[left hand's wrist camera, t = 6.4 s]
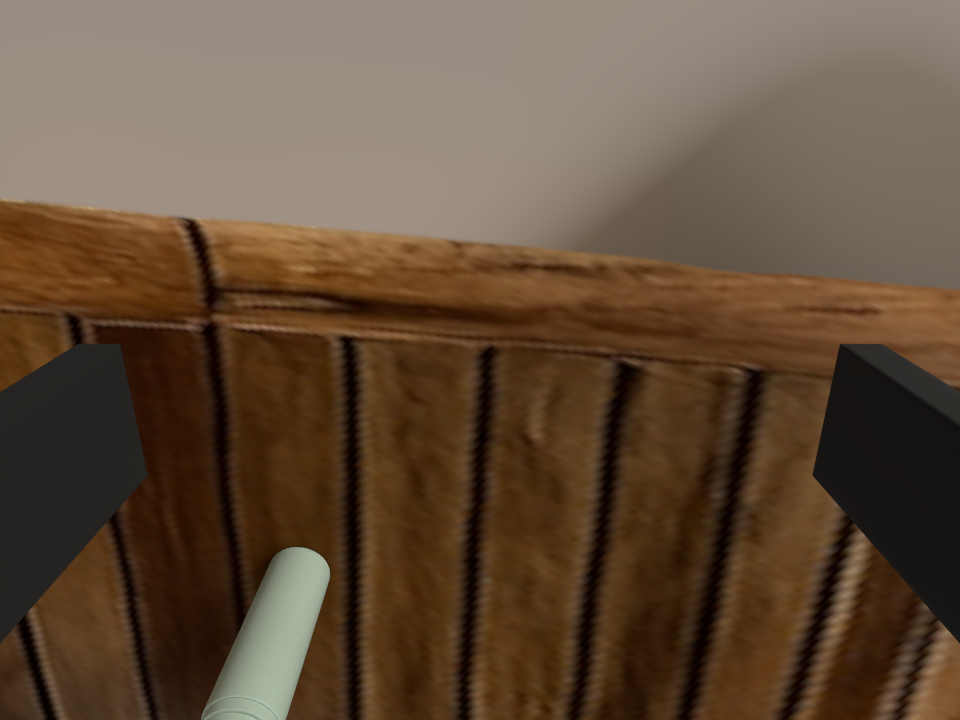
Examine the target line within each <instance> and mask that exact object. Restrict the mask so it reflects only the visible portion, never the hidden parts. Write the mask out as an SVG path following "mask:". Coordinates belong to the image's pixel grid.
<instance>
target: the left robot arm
mask: <svg viewBox="0 0 960 720" xmlns="http://www.w3.org/2000/svg"><path fill="white" fill-rule="evenodd" d="M146 476H147V471H146V466H145V461H144V456H143V451H142V447H141V442H140V437H139V432H138V428H137V423H136V418H135V413H134V409H133V404H132V399H131V394H130V390H129V385H128V380H127V375H126V370H125V366H124V361H123V356H122V351H121V347H120V344H77V345H76V346H74V347H73V348H71V349H69V350H68V351H66V352H64V353H63V354H61V355H60V356H58V357H56V358H55V359H53V360H51V361H50V362H48V363H47V364H45V365H43V366H42V367H40V368H38V369H37V370H35V371H34V372H32V373H30V374H29V375H27V376H26V377H24V378H22V379H21V380H19V381H17V382H16V383H14V384H13V385H11V386H9V387H8V388H6V389H4V390H3V391H1V392H0V643H1V642H2V641H3V640H4V638H5V637H6V636H7V635H8V634H9V633H10V632H11V630H12V629H13V628H14V627H15V626H16V625H17V624H18V622H19V621H20V620H21V619H22V618H23V617H24V616H25V614H26V613H27V612H28V611H29V610H30V609H31V608H32V606H33V605H34V604H35V603H36V602H37V601H38V600H39V599H40V597H41V596H42V595H43V594H44V593H45V592H46V591H47V589H48V588H49V587H50V586H51V585H52V584H53V583H54V581H55V580H56V579H57V578H58V577H59V576H60V575H61V573H62V572H63V571H64V570H65V569H66V568H67V567H68V565H69V564H70V563H71V562H72V561H73V560H74V559H75V557H76V556H77V555H78V554H79V553H80V552H81V551H82V549H83V548H84V547H85V546H86V545H87V544H88V543H89V541H90V540H91V539H92V538H93V537H94V536H95V535H96V533H97V532H98V531H99V530H100V529H101V528H102V527H103V526H104V524H105V523H106V522H107V521H108V520H109V519H110V518H111V516H112V515H113V514H114V513H115V512H116V511H117V510H118V508H119V507H120V506H121V505H122V504H123V503H124V502H125V500H126V499H127V498H128V497H129V496H130V495H131V494H132V492H133V491H134V490H135V489H136V488H137V487H138V486H139V484H140V483H141V482H142V481H143V480H144V479H145V478H146ZM813 476H814V478H815V479H816V480H817V481H818V482H819V483H820V484H821V486H822V487H823V488H824V489H825V490H826V491H827V492H828V494H829V495H830V496H831V497H832V498H833V499H834V500H835V502H836V503H837V504H838V505H839V506H840V507H841V508H842V510H843V511H844V512H845V513H846V514H847V515H848V516H849V518H850V519H851V520H852V521H853V522H854V523H855V524H856V526H857V527H858V528H859V529H860V530H861V531H862V532H863V534H864V535H865V536H866V537H867V538H868V539H869V540H870V541H871V543H872V544H873V545H874V546H875V547H876V548H877V549H878V551H879V552H880V553H881V554H882V555H883V556H884V557H885V559H886V560H887V561H888V562H889V563H890V564H891V565H892V567H893V568H894V569H895V570H896V571H897V572H898V573H899V575H900V576H901V577H902V578H903V579H904V580H905V581H906V583H907V584H908V585H909V586H910V587H911V588H912V589H913V591H914V592H915V593H916V594H917V595H918V596H919V597H920V599H921V600H922V601H923V602H924V603H925V604H926V605H927V607H928V608H929V609H930V610H931V611H932V612H933V613H934V614H935V616H936V617H937V618H938V619H939V620H940V621H941V622H942V624H943V625H944V626H945V627H946V628H947V629H948V630H949V632H950V633H951V634H952V635H953V636H954V637H955V638H956V640H957V641H958V642H959V643H960V392H959V391H957V390H956V389H954V388H952V387H951V386H949V385H947V384H946V383H944V382H943V381H941V380H939V379H938V378H936V377H934V376H933V375H931V374H930V373H928V372H926V371H925V370H923V369H922V368H920V367H918V366H917V365H915V364H913V363H912V362H910V361H909V360H907V359H905V358H904V357H902V356H900V355H899V354H897V353H896V352H894V351H892V350H891V349H889V348H887V347H886V346H884V345H883V344H840V347H839V351H838V356H837V361H836V366H835V370H834V375H833V380H832V385H831V390H830V394H829V399H828V404H827V409H826V413H825V418H824V423H823V428H822V432H821V437H820V442H819V447H818V451H817V456H816V461H815V466H814V470H813Z"/></svg>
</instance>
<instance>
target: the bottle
mask: <svg viewBox="0 0 960 720" xmlns="http://www.w3.org/2000/svg"><path fill="white" fill-rule="evenodd" d="M329 579H330V570H329V566H328V564H327V562H326V561H325V560H324V558H323V557H322V556H320V555H319V554H318V553H316V552H315V551H312V550H310V549H307V548H302V547H291V548H287V549H284V550H282V551H280V552H279V553H277V554H276V555H275V556H274V557H273V559H272V560H271V562H270V564H269V567H268V569H267V571H266V573H265V576H264V578H263V580H262V582H261V584H260V587H259V589H258V591H257V593H256V596H255V598H254V600H253V602H252V604H251V607H250V609H249V611H248V613H247V616H246V618H245V620H244V622H243V625H242V627H241V629H240V631H239V633H238V636H237V638H236V640H235V642H234V645H233V647H232V649H231V651H230V653H229V656H228V658H227V660H226V662H225V665H224V667H223V669H222V671H221V673H220V676H219V678H218V680H217V682H216V685H215V687H214V689H213V691H212V693H211V696H210V698H209V700H208V702H207V705H206V707H205V709H204V711H203V714H202V718H201V720H286V717H287V714H288V711H289V707H290V704H291V701H292V698H293V695H294V691H295V688H296V685H297V682H298V678H299V675H300V672H301V669H302V666H303V662H304V659H305V656H306V653H307V650H308V646H309V643H310V640H311V637H312V634H313V630H314V627H315V624H316V621H317V618H318V614H319V611H320V608H321V605H322V601H323V598H324V595H325V592H326V589H327V585H328V582H329Z"/></svg>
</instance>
